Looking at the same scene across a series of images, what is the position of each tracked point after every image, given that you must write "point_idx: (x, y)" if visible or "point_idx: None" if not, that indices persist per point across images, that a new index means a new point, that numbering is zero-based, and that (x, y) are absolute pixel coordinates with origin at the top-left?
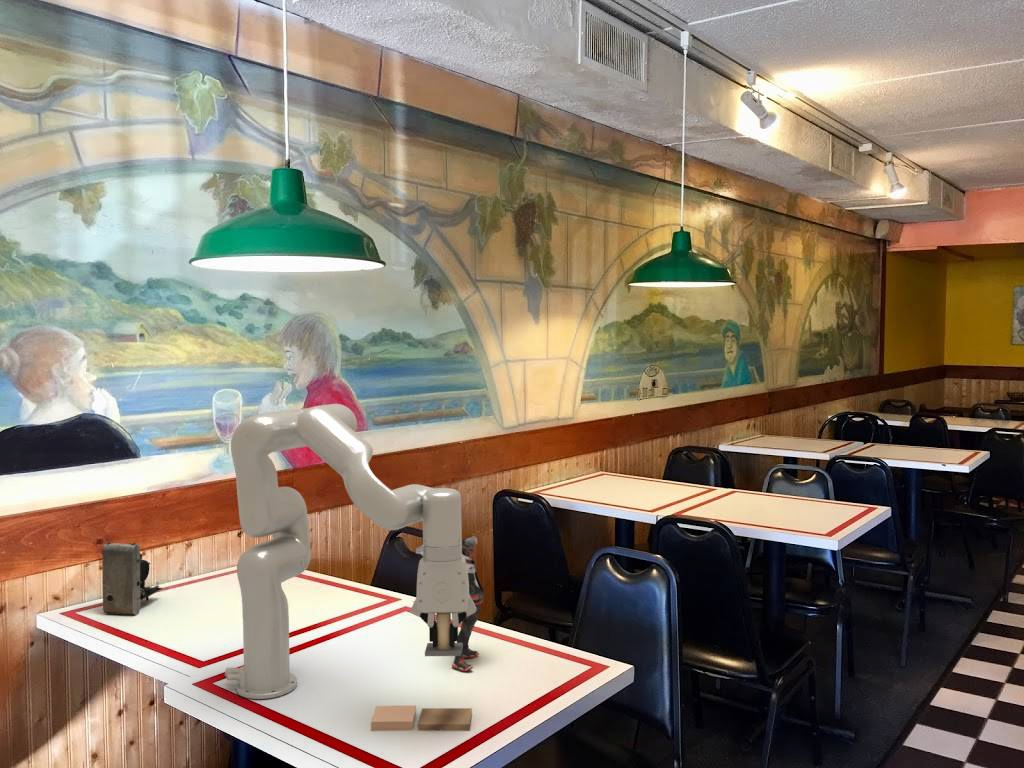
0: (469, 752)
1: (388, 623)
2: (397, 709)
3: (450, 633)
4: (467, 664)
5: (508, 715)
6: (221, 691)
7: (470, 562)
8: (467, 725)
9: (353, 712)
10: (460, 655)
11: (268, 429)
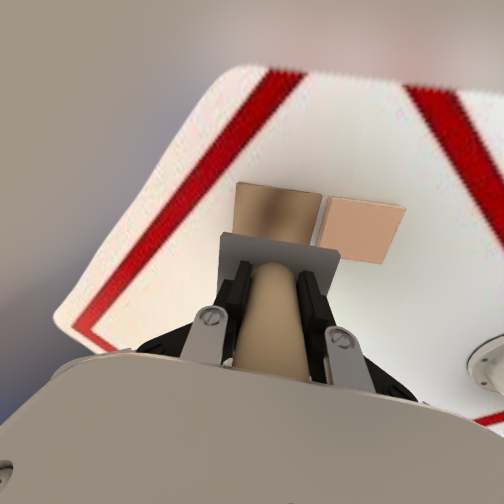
0: (242, 96)
1: None
2: (349, 246)
3: (245, 289)
4: (233, 355)
5: (181, 223)
6: None
7: None
8: (240, 184)
9: (409, 269)
10: (224, 232)
11: None
